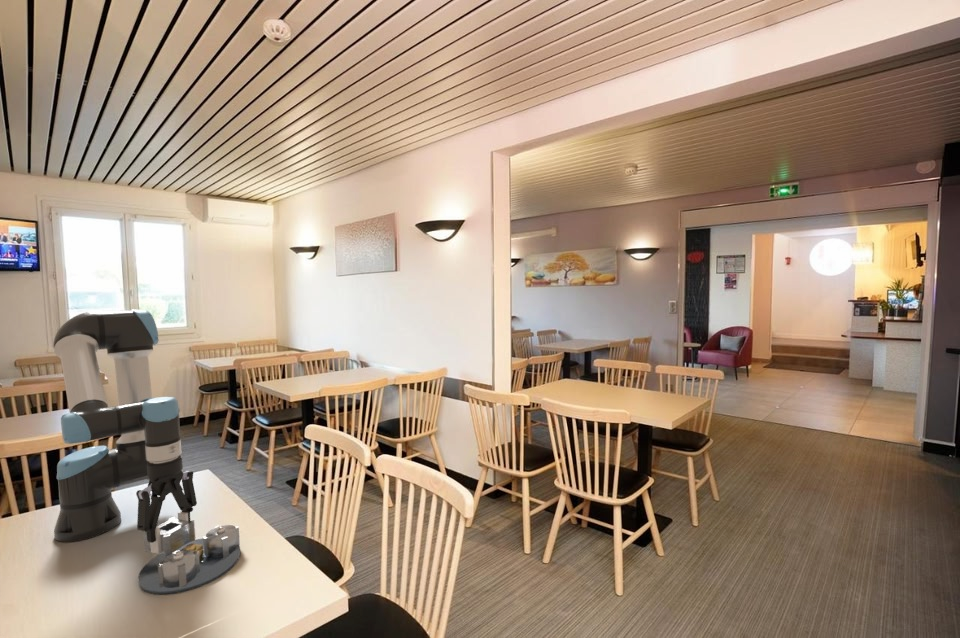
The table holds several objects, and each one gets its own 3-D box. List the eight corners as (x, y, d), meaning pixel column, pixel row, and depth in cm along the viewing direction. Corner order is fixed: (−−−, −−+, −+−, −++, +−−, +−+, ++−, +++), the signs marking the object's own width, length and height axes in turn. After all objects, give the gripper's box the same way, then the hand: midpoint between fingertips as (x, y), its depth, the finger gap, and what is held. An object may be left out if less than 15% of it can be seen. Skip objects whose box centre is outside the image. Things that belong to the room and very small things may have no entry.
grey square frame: (142, 551, 116) (141, 532, 116) (174, 533, 124) (173, 516, 124) (167, 557, 113) (166, 537, 113) (198, 538, 122) (197, 520, 121)
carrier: (134, 564, 118) (131, 535, 117) (228, 532, 133) (227, 506, 132) (144, 608, 102) (142, 575, 101) (251, 566, 116) (249, 537, 116)
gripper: (135, 475, 106) (142, 569, 108) (209, 446, 125) (214, 526, 127) (112, 472, 109) (120, 563, 111) (188, 443, 128) (194, 522, 129)
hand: (170, 543), depth 119 cm, fingers closed on grey square frame, 7 cm apart
